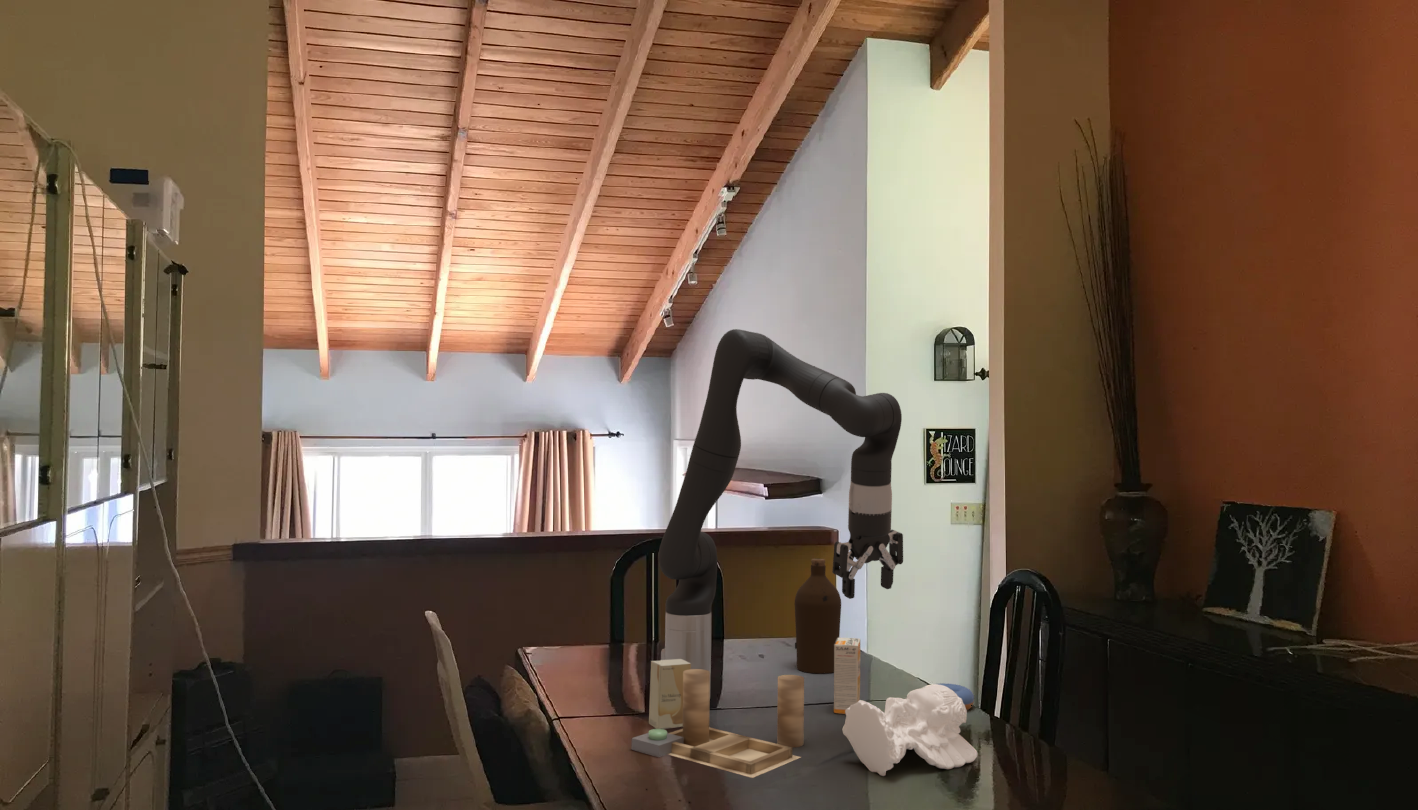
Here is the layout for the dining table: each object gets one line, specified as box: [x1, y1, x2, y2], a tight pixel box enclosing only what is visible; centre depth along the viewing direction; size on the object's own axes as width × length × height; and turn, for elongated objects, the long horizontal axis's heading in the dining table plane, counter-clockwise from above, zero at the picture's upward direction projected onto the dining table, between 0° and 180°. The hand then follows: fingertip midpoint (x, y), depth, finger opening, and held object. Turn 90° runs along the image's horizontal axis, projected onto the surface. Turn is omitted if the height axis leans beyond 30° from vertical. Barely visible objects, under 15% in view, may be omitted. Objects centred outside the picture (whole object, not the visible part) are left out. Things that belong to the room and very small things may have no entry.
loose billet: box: [776, 674, 805, 748], centre depth 164 cm, size 4×4×12 cm
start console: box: [631, 728, 684, 758], centre depth 160 cm, size 6×6×4 cm
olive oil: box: [794, 558, 842, 675], centre depth 225 cm, size 11×11×25 cm
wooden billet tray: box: [666, 726, 802, 779], centre depth 159 cm, size 22×13×3 cm, turn 51°
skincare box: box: [648, 659, 691, 730], centre depth 175 cm, size 6×4×12 cm
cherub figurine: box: [842, 683, 978, 777], centre depth 160 cm, size 13×12×20 cm
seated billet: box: [682, 669, 711, 747], centre depth 162 cm, size 4×4×12 cm
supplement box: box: [833, 637, 861, 715], centre depth 191 cm, size 8×5×13 cm, turn 168°
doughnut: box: [938, 682, 975, 711], centre depth 193 cm, size 10×10×5 cm
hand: (867, 592), depth 177 cm, fingers open, 8 cm apart
